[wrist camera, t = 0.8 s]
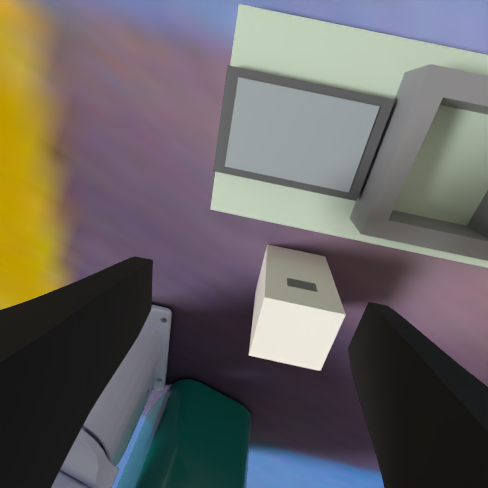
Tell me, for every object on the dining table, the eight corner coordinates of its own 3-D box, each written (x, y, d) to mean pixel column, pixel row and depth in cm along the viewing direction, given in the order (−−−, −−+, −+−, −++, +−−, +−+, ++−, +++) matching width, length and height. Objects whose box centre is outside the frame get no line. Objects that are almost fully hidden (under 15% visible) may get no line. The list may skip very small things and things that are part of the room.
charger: (308, 303, 20) (320, 371, 15) (255, 291, 21) (248, 355, 15) (325, 255, 19) (346, 313, 13) (267, 243, 19) (264, 296, 13)
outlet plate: (488, 262, 18) (533, 293, 15) (213, 204, 18) (201, 223, 15) (605, 86, 13) (704, 77, 10) (241, 11, 14) (231, -19, 10)
